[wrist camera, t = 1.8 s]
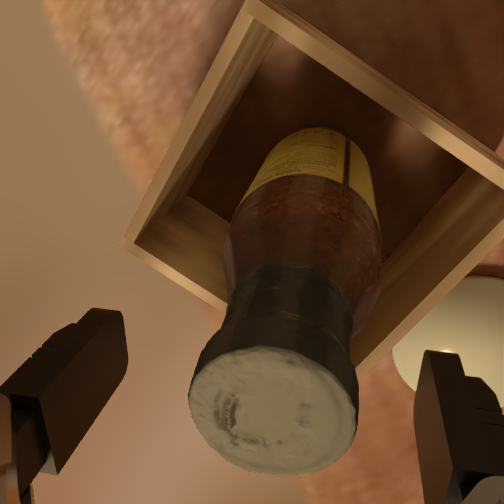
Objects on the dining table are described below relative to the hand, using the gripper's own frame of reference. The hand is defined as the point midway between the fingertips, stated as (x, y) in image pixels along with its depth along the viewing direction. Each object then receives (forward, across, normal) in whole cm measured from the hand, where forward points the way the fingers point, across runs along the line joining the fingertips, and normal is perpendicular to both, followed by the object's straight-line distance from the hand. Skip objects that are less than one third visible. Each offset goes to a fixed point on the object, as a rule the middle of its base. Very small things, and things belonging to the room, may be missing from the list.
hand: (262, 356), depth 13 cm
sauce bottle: (+18, 0, 0) cm, 18 cm away
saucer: (+18, -11, +11) cm, 23 cm away
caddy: (+18, 0, 0) cm, 18 cm away
